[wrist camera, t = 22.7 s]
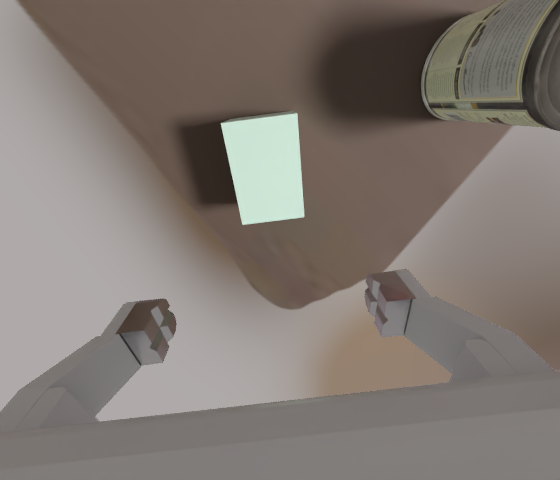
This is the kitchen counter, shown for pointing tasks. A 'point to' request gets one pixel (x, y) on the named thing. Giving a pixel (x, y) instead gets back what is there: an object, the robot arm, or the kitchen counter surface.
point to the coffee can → (498, 66)
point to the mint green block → (265, 166)
